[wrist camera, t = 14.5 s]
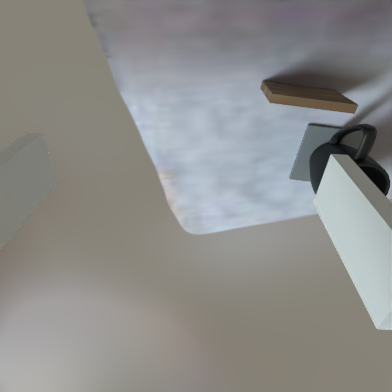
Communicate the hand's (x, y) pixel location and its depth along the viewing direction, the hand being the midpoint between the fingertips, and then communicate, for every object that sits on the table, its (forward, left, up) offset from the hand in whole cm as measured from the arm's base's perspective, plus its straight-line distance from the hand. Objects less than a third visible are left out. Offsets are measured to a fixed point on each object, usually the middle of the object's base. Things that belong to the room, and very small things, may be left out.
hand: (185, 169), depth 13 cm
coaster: (+10, +21, -28) cm, 36 cm away
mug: (+8, +21, -28) cm, 36 cm away
